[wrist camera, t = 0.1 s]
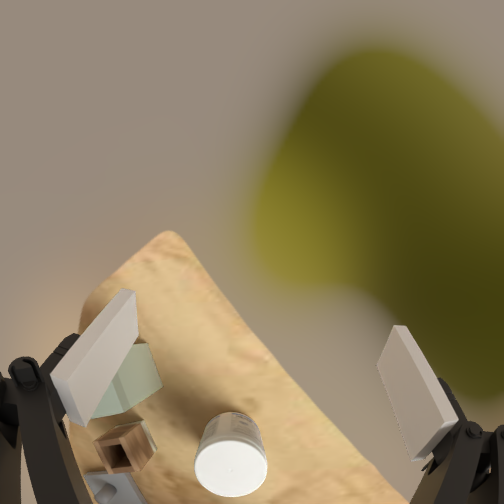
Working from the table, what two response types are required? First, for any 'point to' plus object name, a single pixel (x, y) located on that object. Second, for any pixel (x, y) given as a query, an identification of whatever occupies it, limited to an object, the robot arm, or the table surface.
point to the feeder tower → (130, 382)
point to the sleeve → (125, 447)
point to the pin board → (119, 483)
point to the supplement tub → (231, 456)
